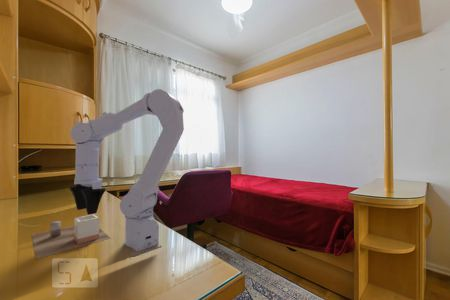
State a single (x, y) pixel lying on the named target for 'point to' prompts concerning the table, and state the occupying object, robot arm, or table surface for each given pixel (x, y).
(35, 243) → the pin board
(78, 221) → the sleeve
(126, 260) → the table surface
